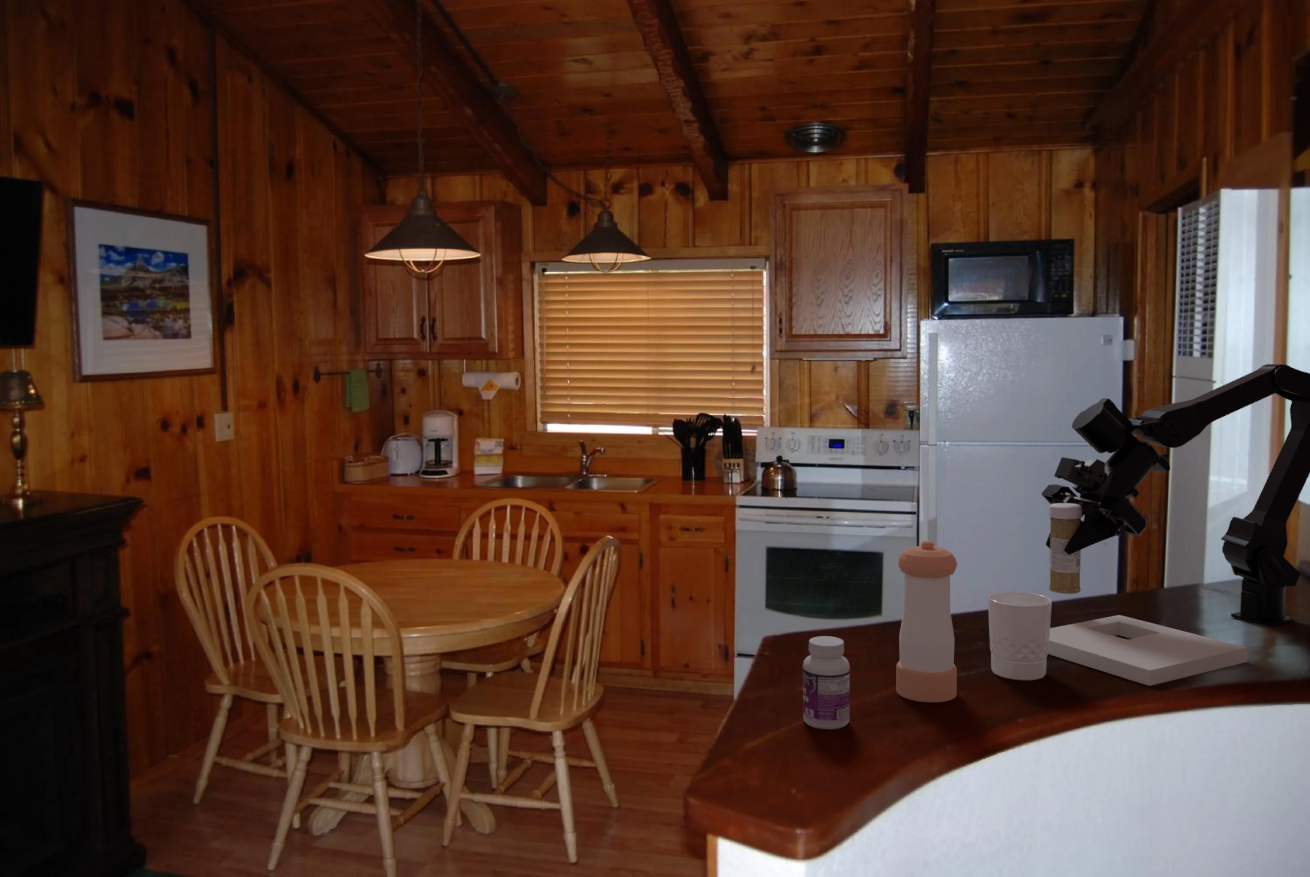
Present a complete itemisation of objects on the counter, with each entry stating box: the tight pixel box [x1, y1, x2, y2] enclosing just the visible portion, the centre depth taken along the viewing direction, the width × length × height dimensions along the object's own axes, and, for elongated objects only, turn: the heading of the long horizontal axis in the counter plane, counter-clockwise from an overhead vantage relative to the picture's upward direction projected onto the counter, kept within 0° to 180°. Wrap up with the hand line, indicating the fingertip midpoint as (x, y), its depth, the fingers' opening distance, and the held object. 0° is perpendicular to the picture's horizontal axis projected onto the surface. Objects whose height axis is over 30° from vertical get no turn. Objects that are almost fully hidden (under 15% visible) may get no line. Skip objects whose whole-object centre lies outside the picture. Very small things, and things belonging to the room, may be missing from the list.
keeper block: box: [1048, 614, 1248, 686], centre depth 142 cm, size 20×20×2 cm
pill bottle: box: [802, 635, 851, 730], centre depth 117 cm, size 5×5×10 cm
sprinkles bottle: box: [1048, 503, 1083, 595], centre depth 156 cm, size 5×5×14 cm
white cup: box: [987, 591, 1053, 681], centre depth 135 cm, size 8×8×10 cm
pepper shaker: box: [895, 540, 958, 703], centre depth 127 cm, size 7×7×19 cm
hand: (1057, 549), depth 155 cm, fingers closed on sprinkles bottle, 4 cm apart
